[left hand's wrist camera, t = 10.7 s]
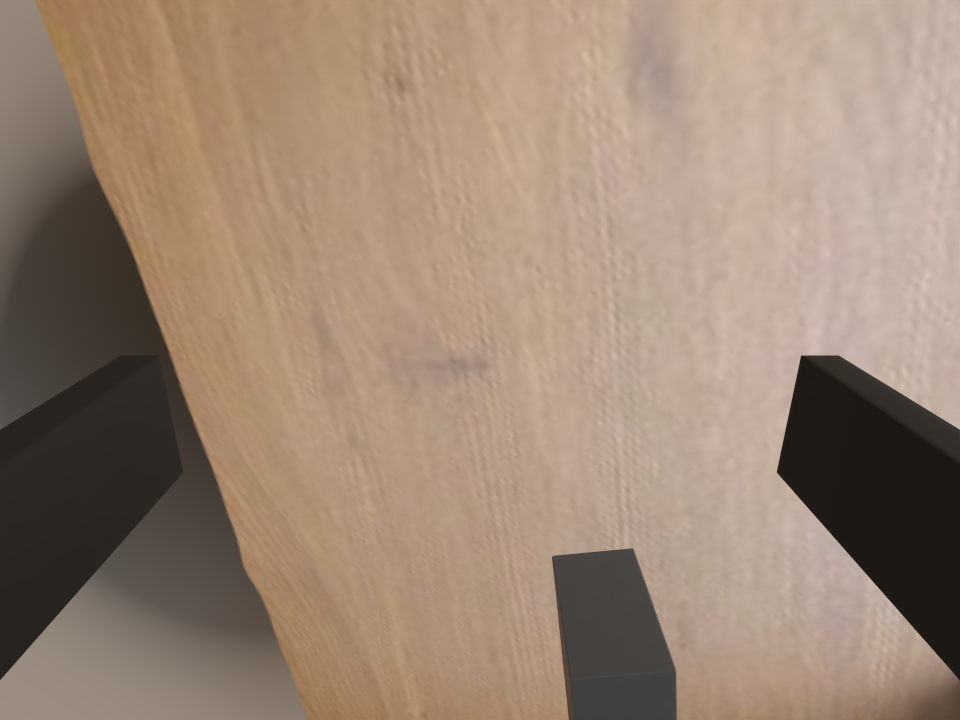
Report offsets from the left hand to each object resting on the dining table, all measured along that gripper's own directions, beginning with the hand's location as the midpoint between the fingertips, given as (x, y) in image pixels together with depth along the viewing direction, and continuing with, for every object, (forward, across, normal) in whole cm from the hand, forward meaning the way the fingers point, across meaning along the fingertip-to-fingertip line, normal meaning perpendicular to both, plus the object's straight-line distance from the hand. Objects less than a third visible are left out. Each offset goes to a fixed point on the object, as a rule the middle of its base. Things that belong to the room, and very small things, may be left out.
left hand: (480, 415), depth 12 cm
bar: (+16, +8, -29) cm, 34 cm away
